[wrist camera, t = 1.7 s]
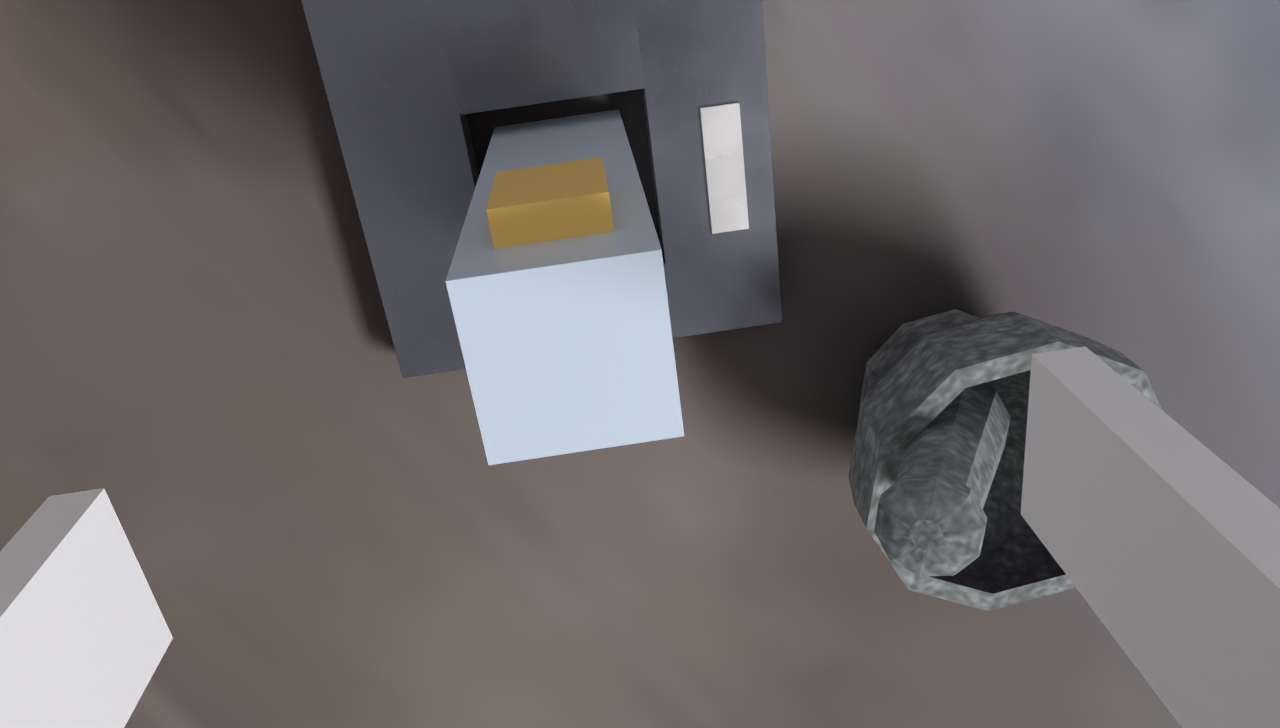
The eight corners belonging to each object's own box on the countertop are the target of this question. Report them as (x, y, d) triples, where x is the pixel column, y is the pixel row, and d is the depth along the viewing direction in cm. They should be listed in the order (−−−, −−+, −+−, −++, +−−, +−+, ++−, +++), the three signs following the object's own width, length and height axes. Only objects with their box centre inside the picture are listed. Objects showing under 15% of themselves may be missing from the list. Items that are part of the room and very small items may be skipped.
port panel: (772, 304, 33) (782, 323, 31) (409, 358, 33) (402, 379, 31) (717, -499, 23) (728, -529, 22) (203, -430, 23) (178, -454, 22)
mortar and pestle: (1114, 315, 34) (1369, 498, 23) (989, 516, 38) (1160, 755, 27) (845, 218, 32) (991, 372, 21) (738, 443, 35) (816, 673, 25)
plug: (517, 245, 31) (488, 465, 19) (489, 101, 29) (435, 239, 17) (634, 228, 31) (684, 436, 19) (615, 83, 29) (656, 207, 17)
